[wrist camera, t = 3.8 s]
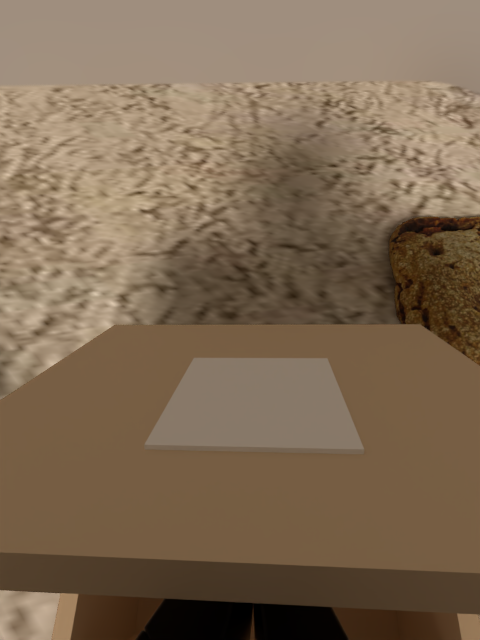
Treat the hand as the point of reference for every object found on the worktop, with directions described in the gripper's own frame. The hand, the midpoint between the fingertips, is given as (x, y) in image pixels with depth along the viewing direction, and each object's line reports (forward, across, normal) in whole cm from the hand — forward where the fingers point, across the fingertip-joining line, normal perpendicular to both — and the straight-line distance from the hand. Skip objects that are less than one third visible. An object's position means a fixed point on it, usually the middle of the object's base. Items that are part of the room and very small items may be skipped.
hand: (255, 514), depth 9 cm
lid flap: (+3, 0, -1) cm, 3 cm away
